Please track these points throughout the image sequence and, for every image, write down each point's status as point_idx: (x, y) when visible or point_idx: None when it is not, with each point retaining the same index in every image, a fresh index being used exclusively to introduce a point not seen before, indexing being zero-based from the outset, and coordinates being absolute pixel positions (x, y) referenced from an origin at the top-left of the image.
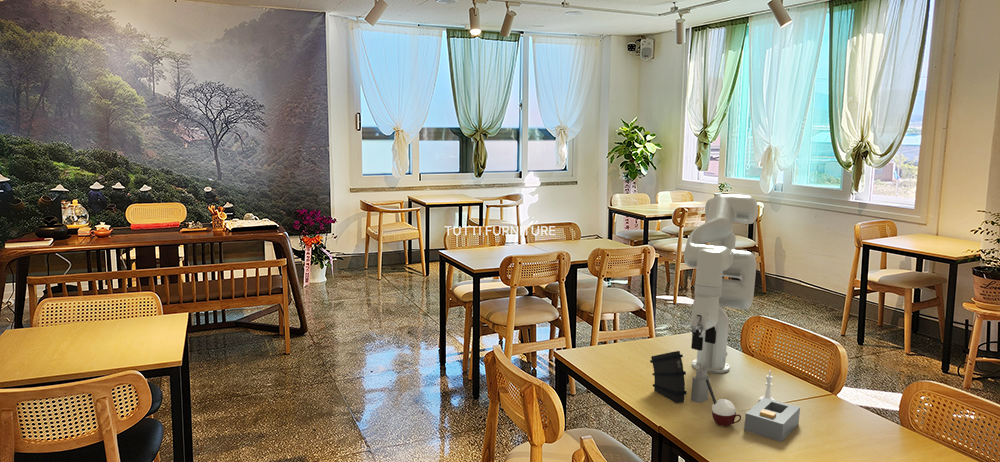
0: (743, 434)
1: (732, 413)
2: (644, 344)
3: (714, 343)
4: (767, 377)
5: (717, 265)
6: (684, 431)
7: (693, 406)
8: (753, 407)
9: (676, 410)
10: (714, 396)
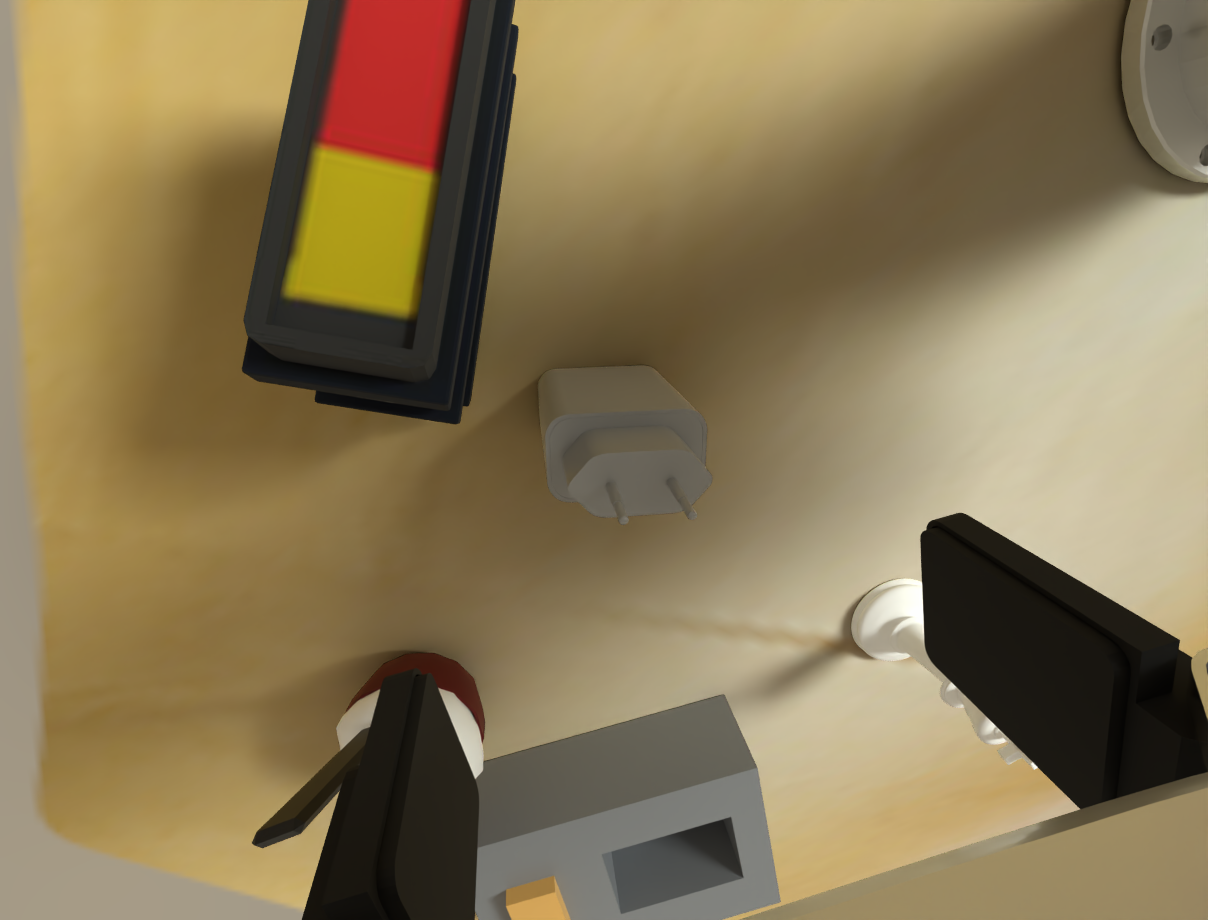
0: None
1: None
2: None
3: (936, 656)
4: (978, 726)
5: None
6: (127, 652)
7: (469, 452)
8: (564, 827)
9: (307, 436)
10: None
